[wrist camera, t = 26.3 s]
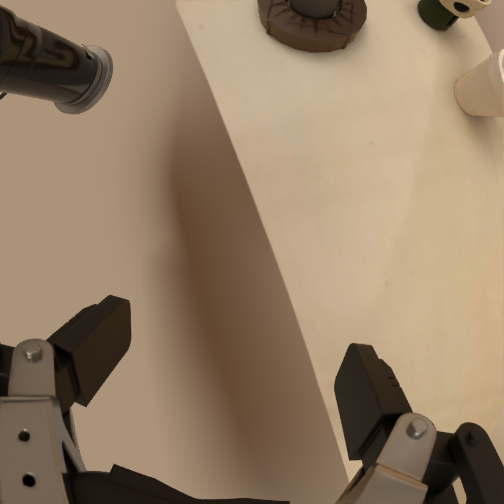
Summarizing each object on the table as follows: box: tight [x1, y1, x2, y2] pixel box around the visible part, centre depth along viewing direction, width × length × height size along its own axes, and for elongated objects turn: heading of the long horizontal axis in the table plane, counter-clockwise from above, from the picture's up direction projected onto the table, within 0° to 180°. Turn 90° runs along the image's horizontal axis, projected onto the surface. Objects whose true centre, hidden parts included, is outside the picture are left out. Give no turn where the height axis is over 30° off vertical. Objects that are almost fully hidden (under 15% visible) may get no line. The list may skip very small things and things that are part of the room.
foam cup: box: [454, 49, 504, 117], centre depth 22 cm, size 10×9×13 cm
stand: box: [258, 0, 367, 52], centre depth 26 cm, size 14×14×4 cm
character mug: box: [418, 0, 491, 31], centre depth 19 cm, size 11×7×13 cm, turn 107°
